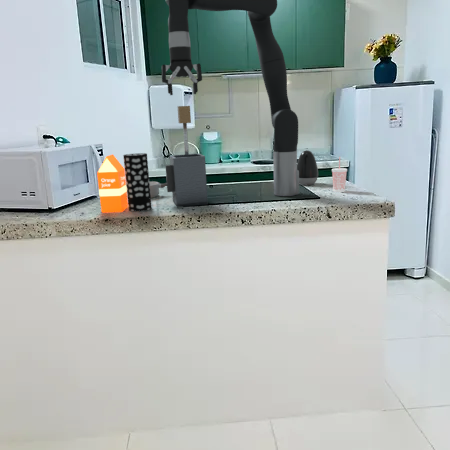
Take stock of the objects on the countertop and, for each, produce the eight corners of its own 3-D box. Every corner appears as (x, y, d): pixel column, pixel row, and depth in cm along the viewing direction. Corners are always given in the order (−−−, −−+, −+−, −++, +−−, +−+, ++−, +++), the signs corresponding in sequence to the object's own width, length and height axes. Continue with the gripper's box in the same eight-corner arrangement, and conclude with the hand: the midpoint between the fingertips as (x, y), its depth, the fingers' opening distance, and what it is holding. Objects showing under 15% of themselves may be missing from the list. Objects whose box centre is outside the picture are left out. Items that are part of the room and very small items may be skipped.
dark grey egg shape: (295, 186, 196) (294, 151, 192) (295, 182, 206) (295, 149, 202) (318, 186, 194) (319, 151, 190) (317, 182, 204) (318, 148, 200)
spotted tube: (141, 212, 158) (135, 155, 153) (124, 210, 163) (118, 155, 158) (156, 207, 165) (151, 153, 160) (139, 205, 170) (134, 153, 165)
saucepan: (181, 197, 184) (180, 183, 183) (132, 200, 182) (130, 186, 180) (179, 192, 195) (178, 179, 194) (133, 195, 193) (132, 182, 191)
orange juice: (101, 212, 161) (94, 157, 156) (108, 207, 169) (102, 154, 164) (122, 212, 160) (116, 156, 155) (128, 206, 169) (123, 153, 164)
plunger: (197, 171, 173) (193, 105, 167) (201, 174, 165) (197, 105, 159) (174, 173, 171) (169, 106, 165) (177, 176, 163) (172, 106, 157)
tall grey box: (201, 198, 178) (199, 153, 173) (207, 204, 167) (204, 156, 162) (166, 202, 175) (163, 155, 170) (170, 207, 164) (166, 158, 159)
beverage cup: (329, 191, 180) (329, 157, 177) (334, 189, 185) (334, 155, 182) (344, 192, 177) (345, 157, 173) (348, 190, 182) (349, 155, 178)
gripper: (197, 48, 162) (200, 94, 166) (158, 48, 159) (162, 95, 163) (201, 44, 155) (204, 93, 159) (160, 45, 152) (164, 95, 156)
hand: (183, 94), depth 161 cm, fingers open, 8 cm apart
